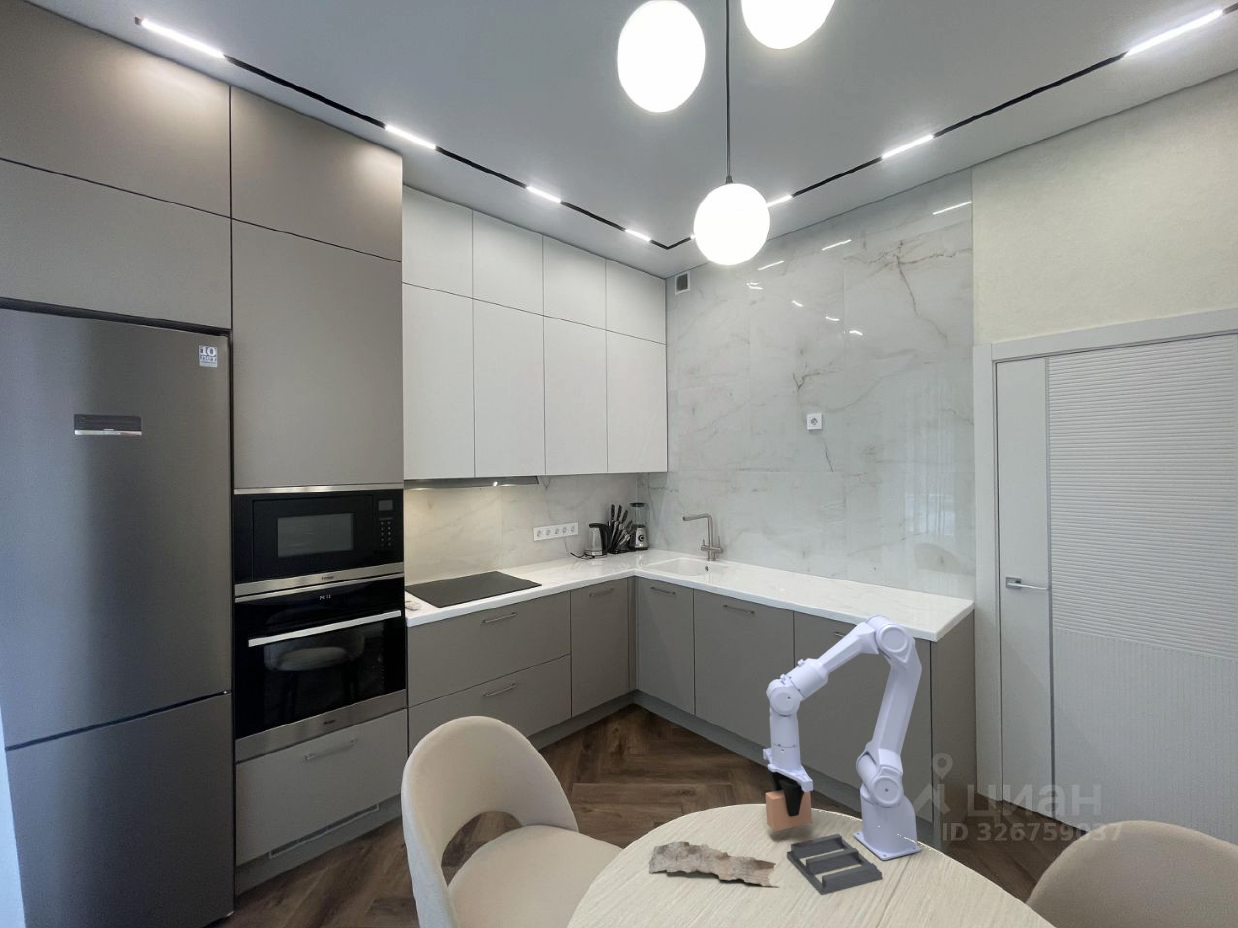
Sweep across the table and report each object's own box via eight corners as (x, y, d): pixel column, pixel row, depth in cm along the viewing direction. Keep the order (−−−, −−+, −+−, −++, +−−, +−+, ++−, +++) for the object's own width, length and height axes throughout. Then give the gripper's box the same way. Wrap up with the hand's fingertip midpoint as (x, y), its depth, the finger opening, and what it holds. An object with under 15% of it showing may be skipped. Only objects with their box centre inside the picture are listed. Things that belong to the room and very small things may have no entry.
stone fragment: (647, 855, 98) (648, 892, 88) (647, 839, 99) (648, 874, 89) (775, 853, 97) (791, 891, 88) (774, 838, 98) (790, 873, 88)
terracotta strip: (804, 815, 104) (802, 785, 105) (812, 822, 102) (810, 791, 103) (767, 823, 102) (765, 792, 103) (774, 831, 100) (772, 799, 100)
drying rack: (843, 844, 99) (842, 832, 99) (882, 878, 89) (881, 865, 90) (787, 857, 95) (786, 845, 96) (821, 894, 86) (820, 880, 86)
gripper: (749, 730, 110) (753, 795, 108) (789, 760, 96) (793, 835, 94) (777, 725, 112) (781, 789, 110) (820, 754, 98) (825, 828, 96)
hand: (789, 810), depth 102 cm, fingers closed on terracotta strip, 2 cm apart
